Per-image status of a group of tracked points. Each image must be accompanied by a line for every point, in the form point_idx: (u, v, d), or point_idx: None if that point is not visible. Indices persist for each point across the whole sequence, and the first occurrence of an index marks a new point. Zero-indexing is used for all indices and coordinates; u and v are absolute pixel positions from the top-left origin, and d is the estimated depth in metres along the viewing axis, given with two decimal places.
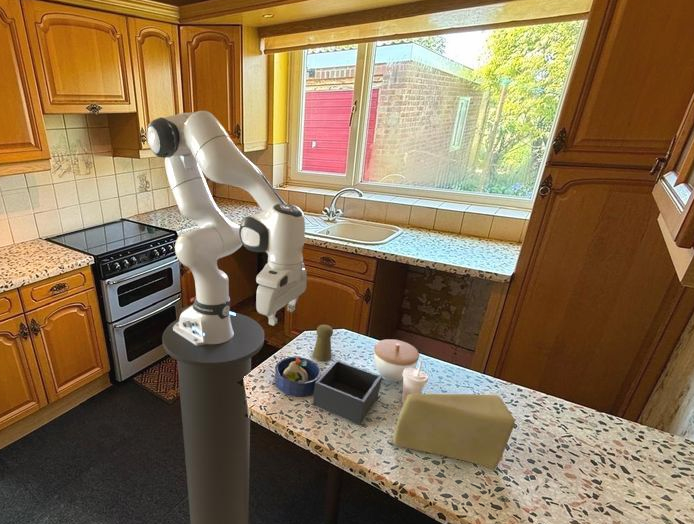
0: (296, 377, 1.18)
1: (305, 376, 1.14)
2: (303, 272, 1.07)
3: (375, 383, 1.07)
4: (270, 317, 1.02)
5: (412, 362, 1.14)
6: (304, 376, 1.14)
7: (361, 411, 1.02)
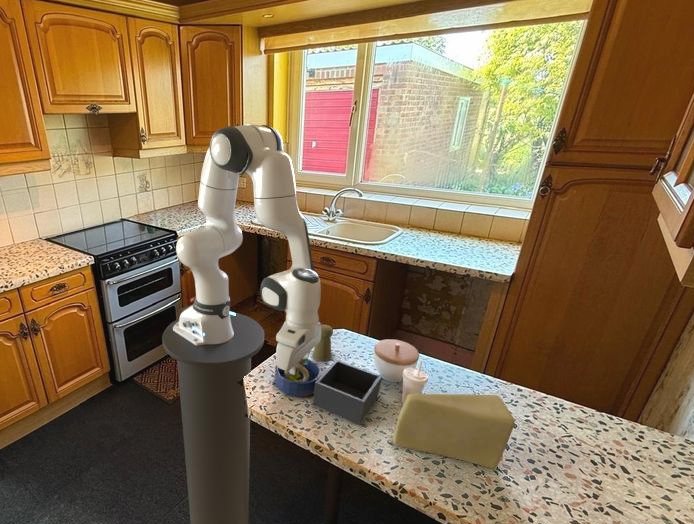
0: (297, 376, 1.18)
1: (306, 375, 1.14)
2: (318, 327, 1.16)
3: (375, 383, 1.07)
4: (291, 367, 1.12)
5: (412, 362, 1.14)
6: (305, 375, 1.14)
7: (361, 411, 1.02)
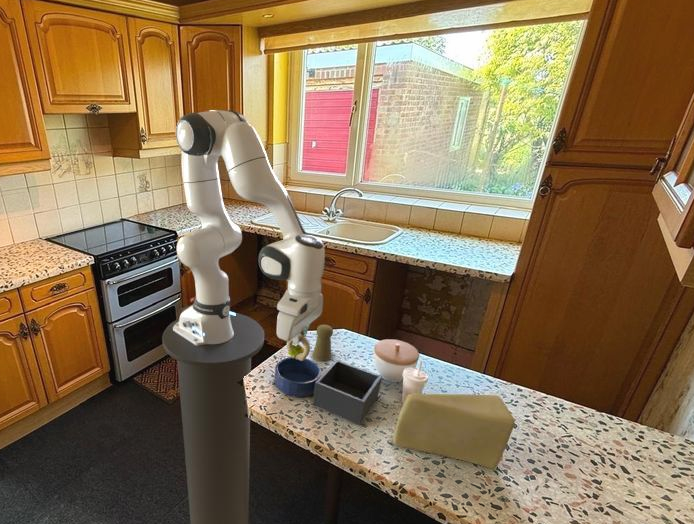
0: (301, 350, 1.15)
1: (306, 346, 1.11)
2: (320, 298, 1.12)
3: (375, 383, 1.07)
4: (294, 336, 1.10)
5: (412, 362, 1.14)
6: (305, 346, 1.11)
7: (361, 411, 1.02)
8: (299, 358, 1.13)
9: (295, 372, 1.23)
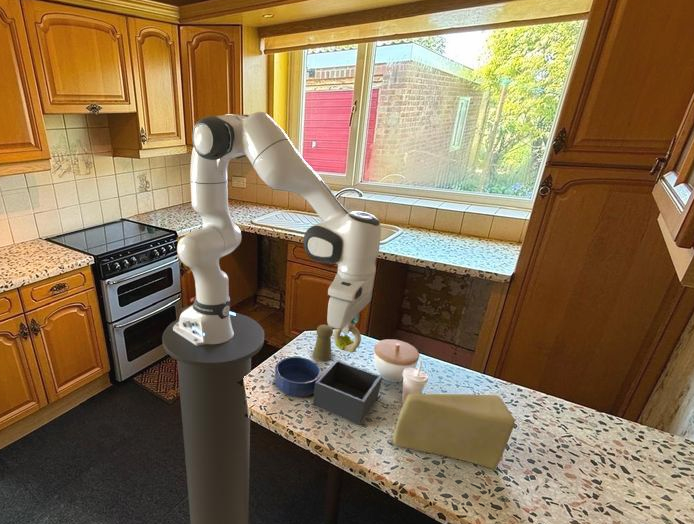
0: (349, 341, 1.05)
1: (357, 336, 1.01)
2: None
3: (375, 383, 1.07)
4: (344, 325, 1.00)
5: (412, 362, 1.14)
6: (356, 336, 1.01)
7: (361, 411, 1.02)
8: (349, 349, 1.03)
9: (295, 372, 1.23)
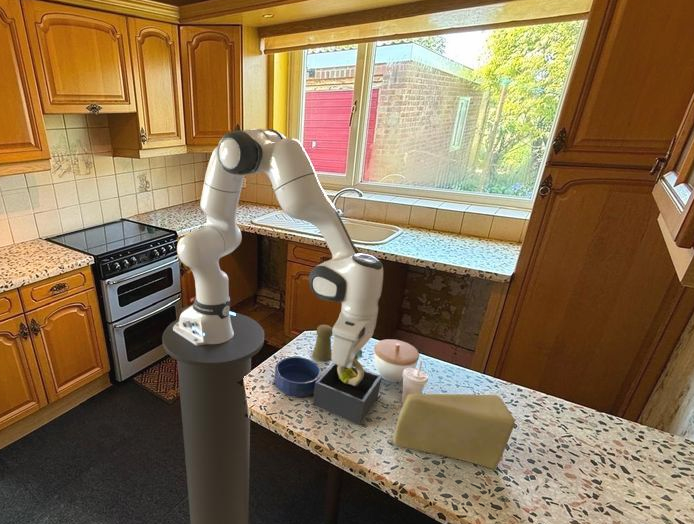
0: (352, 374, 1.08)
1: (360, 371, 1.04)
2: None
3: (375, 383, 1.07)
4: None
5: (412, 362, 1.14)
6: (359, 370, 1.04)
7: (361, 411, 1.02)
8: (352, 382, 1.06)
9: (295, 372, 1.23)
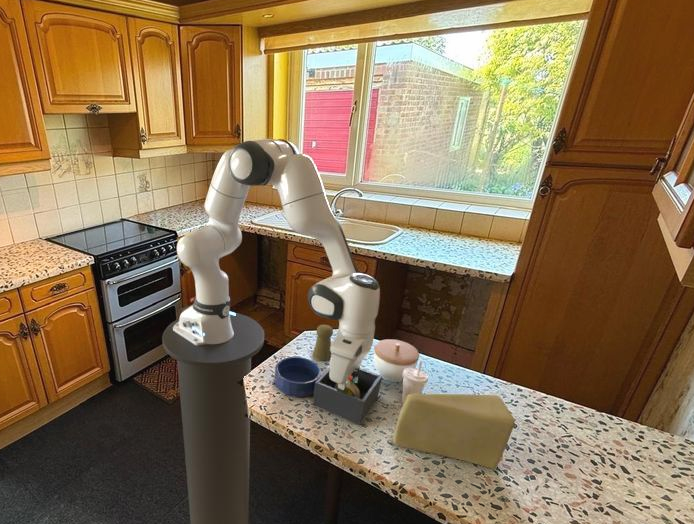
0: (349, 393, 1.11)
1: (356, 394, 1.06)
2: None
3: (375, 383, 1.07)
4: None
5: (412, 362, 1.14)
6: (355, 394, 1.06)
7: (361, 411, 1.02)
8: None
9: (295, 372, 1.23)
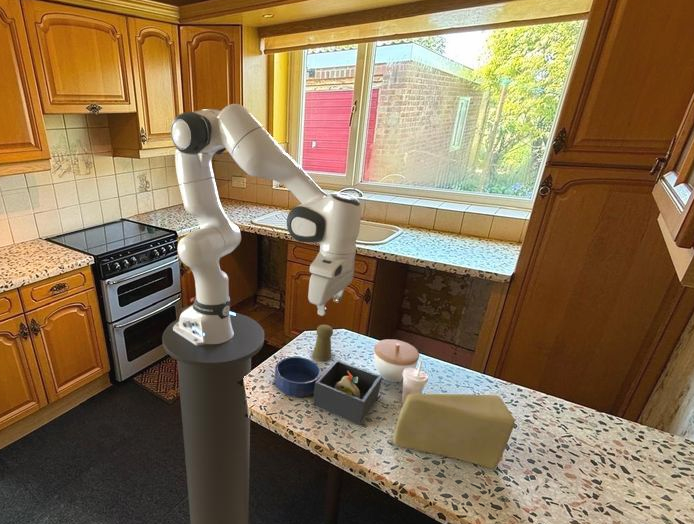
0: (349, 393, 1.11)
1: (356, 394, 1.06)
2: None
3: (375, 383, 1.07)
4: (320, 307, 1.02)
5: (412, 362, 1.14)
6: (355, 394, 1.06)
7: (361, 411, 1.02)
8: None
9: (295, 372, 1.23)
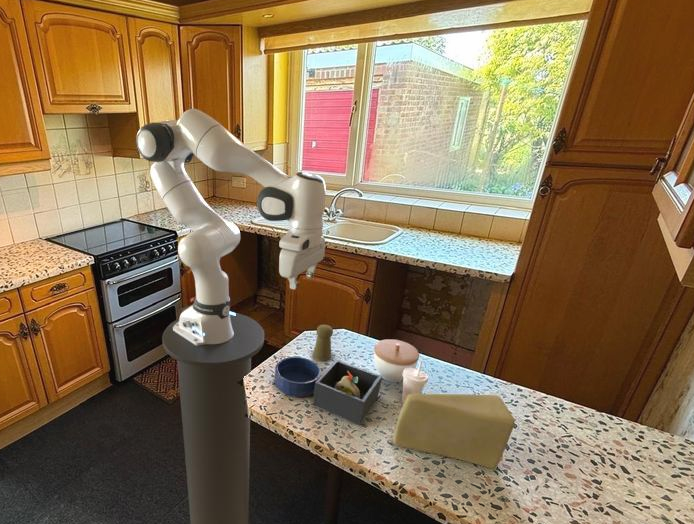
0: (349, 393, 1.11)
1: (356, 394, 1.06)
2: (322, 240, 1.13)
3: (375, 383, 1.07)
4: (291, 281, 1.08)
5: (412, 362, 1.14)
6: (355, 394, 1.06)
7: (361, 411, 1.02)
8: None
9: (295, 372, 1.23)
